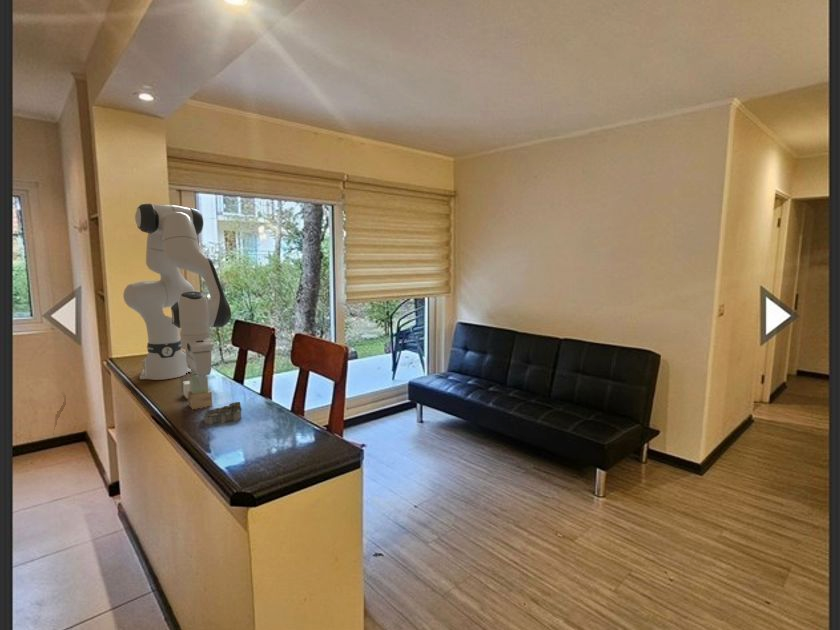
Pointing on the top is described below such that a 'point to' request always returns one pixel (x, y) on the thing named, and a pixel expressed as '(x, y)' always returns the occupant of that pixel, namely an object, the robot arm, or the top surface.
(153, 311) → the robot arm
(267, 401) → the top surface
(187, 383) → the cream cube
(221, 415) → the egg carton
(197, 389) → the green cube
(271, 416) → the top surface
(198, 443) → the top surface
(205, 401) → the oak block
